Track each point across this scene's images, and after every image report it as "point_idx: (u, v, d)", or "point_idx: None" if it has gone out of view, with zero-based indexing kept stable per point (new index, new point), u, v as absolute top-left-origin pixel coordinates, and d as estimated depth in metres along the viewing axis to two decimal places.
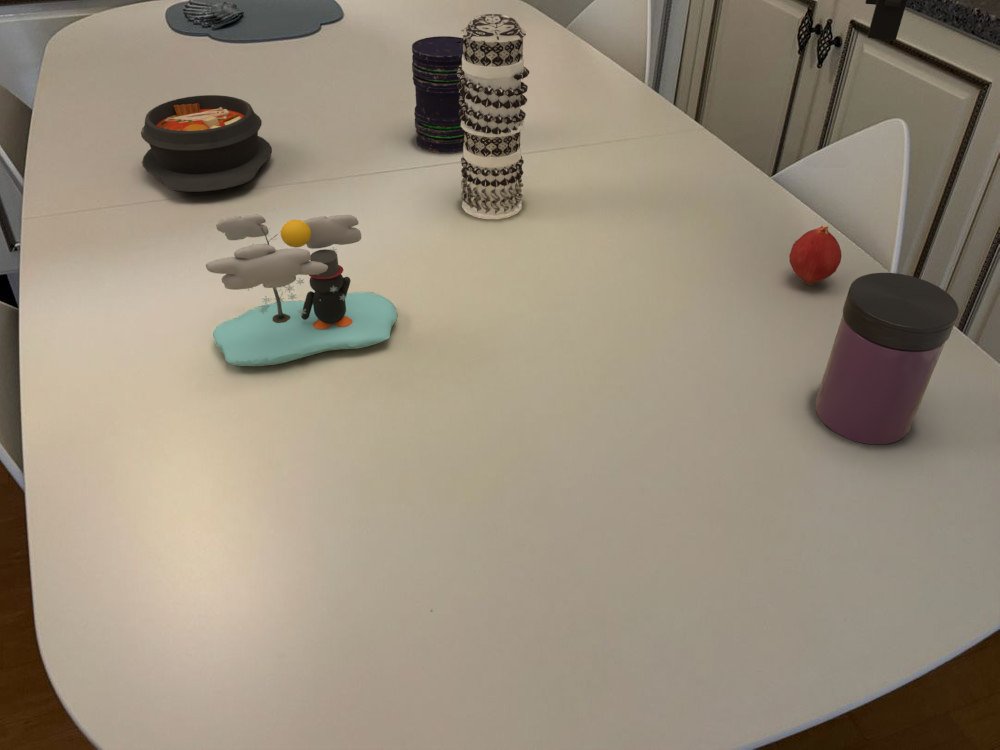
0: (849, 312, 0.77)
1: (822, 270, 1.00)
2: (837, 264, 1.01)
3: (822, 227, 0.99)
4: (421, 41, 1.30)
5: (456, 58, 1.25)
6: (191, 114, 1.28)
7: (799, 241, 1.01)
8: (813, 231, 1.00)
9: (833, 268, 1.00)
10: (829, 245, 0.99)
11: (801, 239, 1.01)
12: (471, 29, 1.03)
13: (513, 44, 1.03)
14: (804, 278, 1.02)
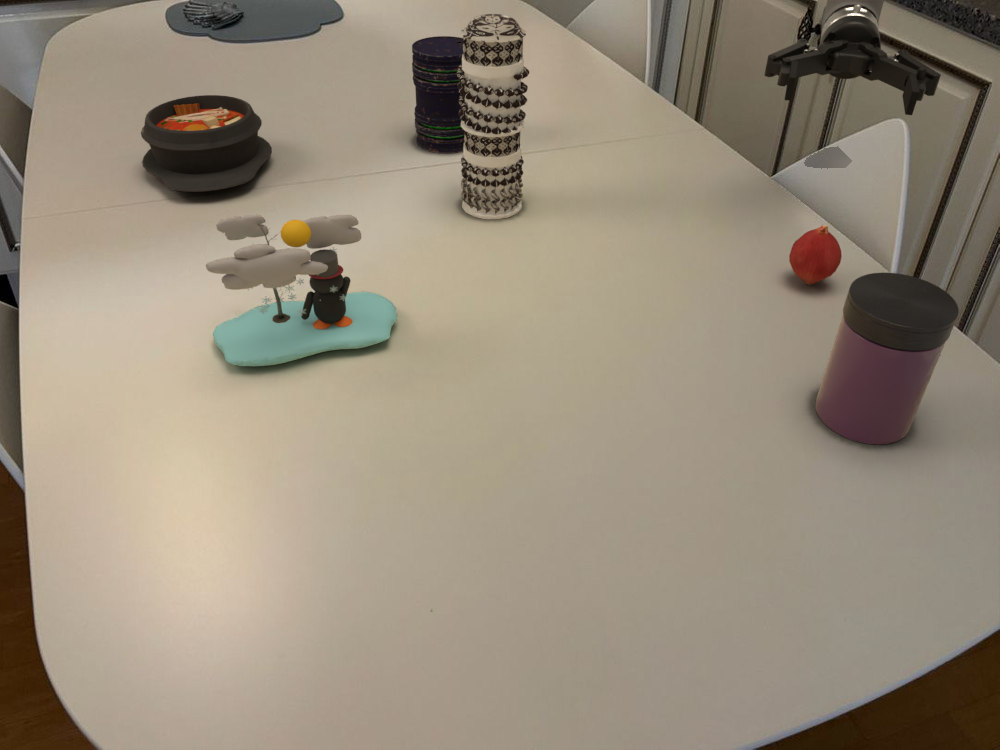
0: (849, 312, 0.77)
1: (822, 270, 1.00)
2: (837, 264, 1.01)
3: (822, 227, 0.99)
4: (421, 41, 1.30)
5: (456, 58, 1.25)
6: (191, 114, 1.28)
7: (799, 241, 1.01)
8: (813, 231, 1.00)
9: (833, 268, 1.00)
10: (829, 245, 0.99)
11: (801, 239, 1.01)
12: (471, 29, 1.03)
13: (513, 44, 1.03)
14: (804, 278, 1.02)
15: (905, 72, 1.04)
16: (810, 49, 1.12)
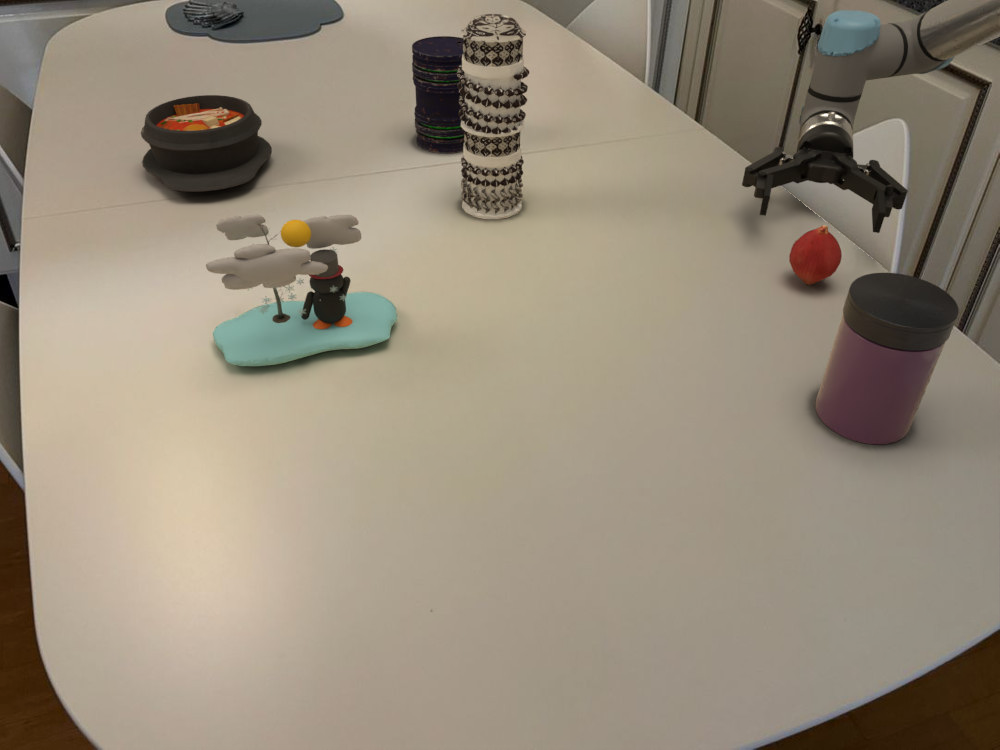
0: (849, 312, 0.77)
1: (822, 270, 1.00)
2: (837, 264, 1.01)
3: (822, 227, 0.99)
4: (421, 41, 1.30)
5: (456, 58, 1.25)
6: (191, 114, 1.28)
7: (799, 241, 1.01)
8: (813, 231, 1.00)
9: (833, 268, 1.00)
10: (829, 245, 0.99)
11: (801, 239, 1.01)
12: (471, 29, 1.03)
13: (513, 44, 1.03)
14: (804, 278, 1.02)
15: (874, 187, 1.10)
16: (786, 157, 1.18)
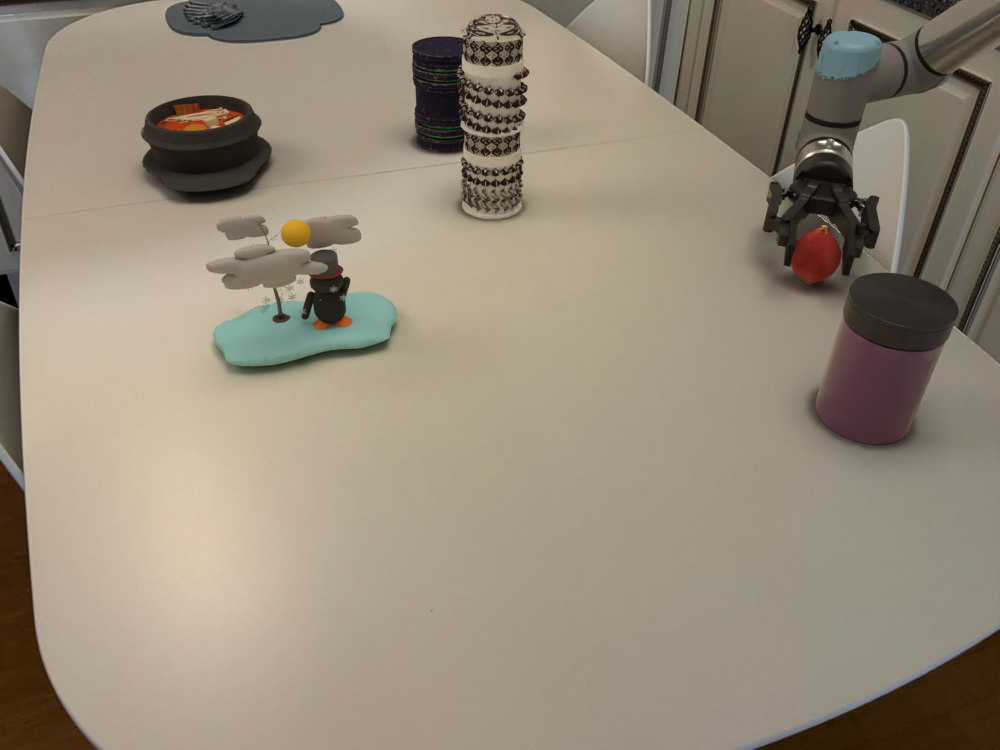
0: (849, 312, 0.77)
1: (822, 270, 1.00)
2: (837, 264, 1.01)
3: (822, 227, 0.99)
4: (421, 41, 1.30)
5: (456, 58, 1.25)
6: (191, 114, 1.28)
7: (799, 241, 1.01)
8: (813, 231, 1.00)
9: (833, 268, 1.00)
10: (829, 245, 0.99)
11: (801, 239, 1.01)
12: (471, 29, 1.03)
13: (513, 44, 1.03)
14: (804, 278, 1.02)
15: (849, 224, 1.02)
16: (784, 191, 1.10)
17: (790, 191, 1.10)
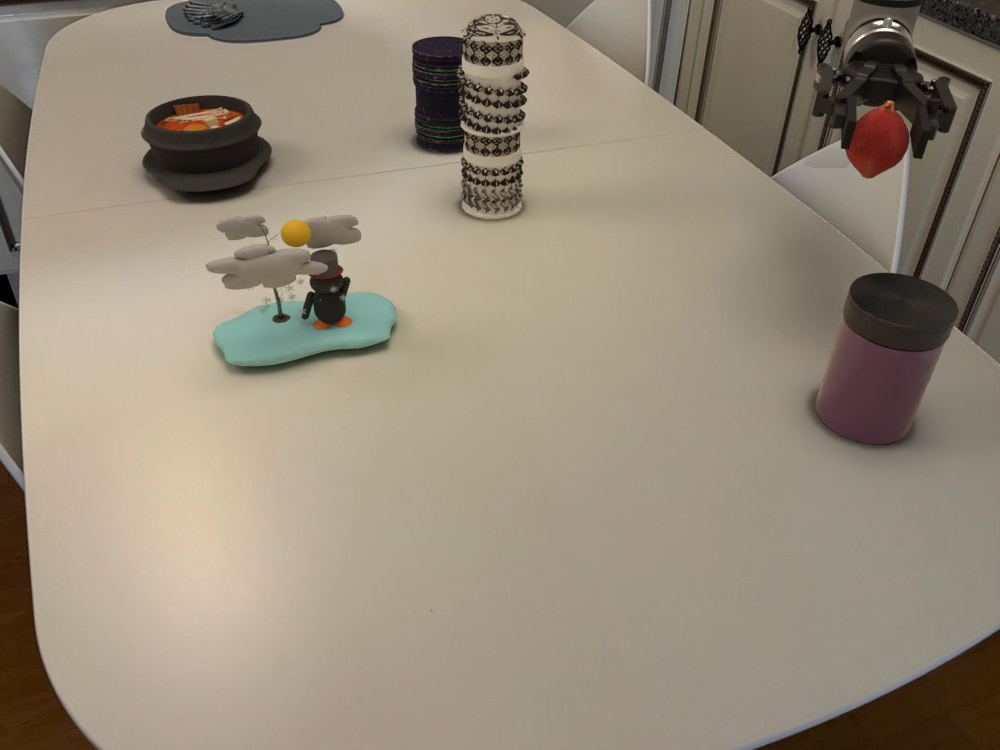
0: (849, 312, 0.77)
1: (886, 156, 0.82)
2: (905, 149, 0.83)
3: (887, 103, 0.82)
4: (421, 41, 1.30)
5: (456, 58, 1.25)
6: (191, 114, 1.28)
7: (858, 122, 0.84)
8: (875, 109, 0.83)
9: (900, 153, 0.83)
10: (896, 125, 0.82)
11: (861, 120, 0.83)
12: (471, 29, 1.03)
13: (513, 44, 1.03)
14: (864, 168, 0.84)
15: (918, 103, 0.84)
16: (836, 74, 0.92)
17: (842, 75, 0.93)
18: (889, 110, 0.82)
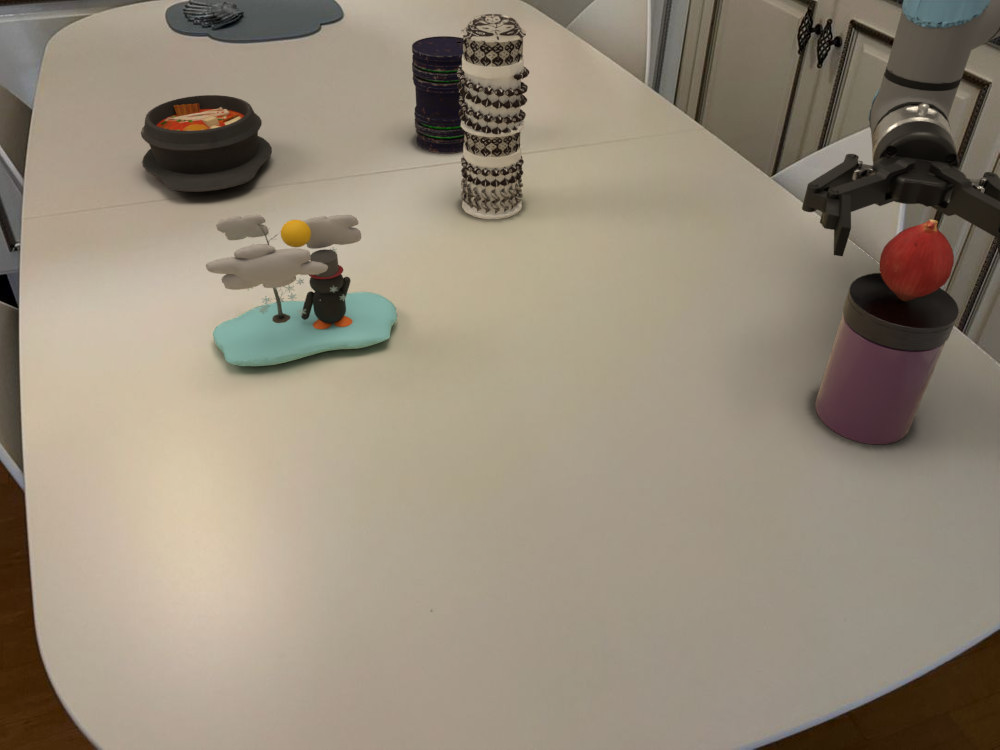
0: (849, 312, 0.77)
1: (928, 282, 0.72)
2: (949, 274, 0.73)
3: (930, 222, 0.71)
4: (421, 41, 1.30)
5: (456, 58, 1.25)
6: (191, 114, 1.28)
7: (895, 242, 0.73)
8: (916, 228, 0.73)
9: (943, 279, 0.72)
10: (939, 247, 0.72)
11: (898, 239, 0.73)
12: (471, 29, 1.03)
13: (513, 44, 1.03)
14: (901, 293, 0.74)
15: None
16: (863, 169, 0.82)
17: (874, 172, 0.82)
18: (932, 230, 0.72)
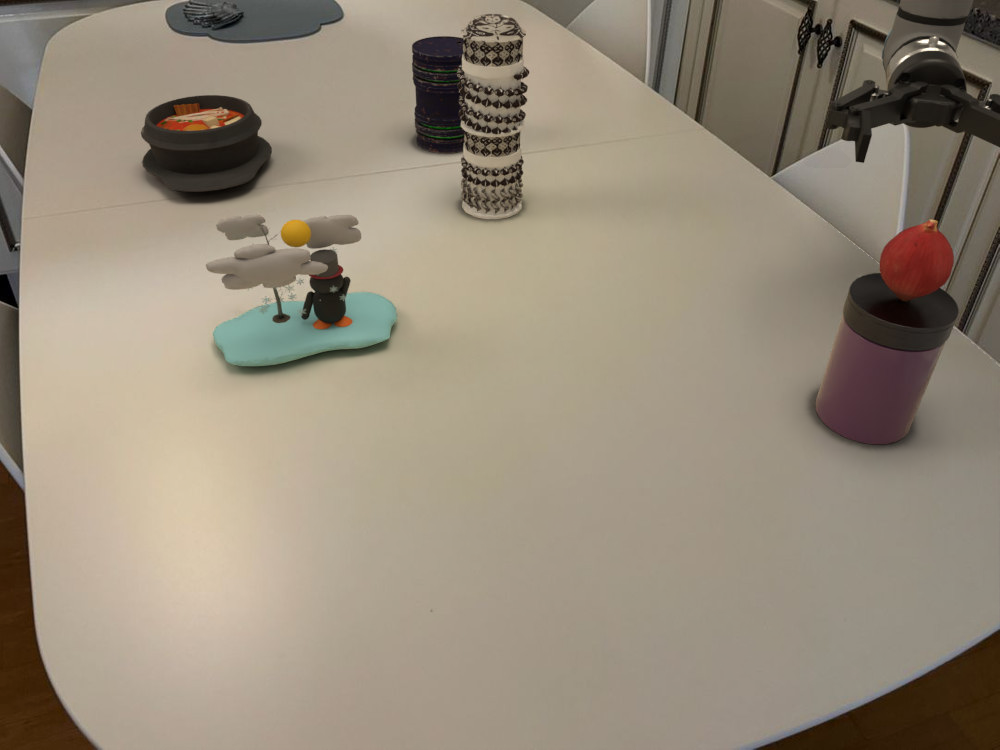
0: (849, 312, 0.77)
1: (928, 282, 0.72)
2: (949, 274, 0.73)
3: (930, 222, 0.71)
4: (421, 41, 1.30)
5: (456, 58, 1.25)
6: (191, 114, 1.28)
7: (895, 242, 0.73)
8: (916, 228, 0.73)
9: (943, 279, 0.72)
10: (939, 247, 0.72)
11: (898, 239, 0.73)
12: (471, 29, 1.03)
13: (513, 44, 1.03)
14: (901, 293, 0.74)
15: None
16: (879, 93, 0.90)
17: (890, 96, 0.90)
18: (932, 230, 0.72)
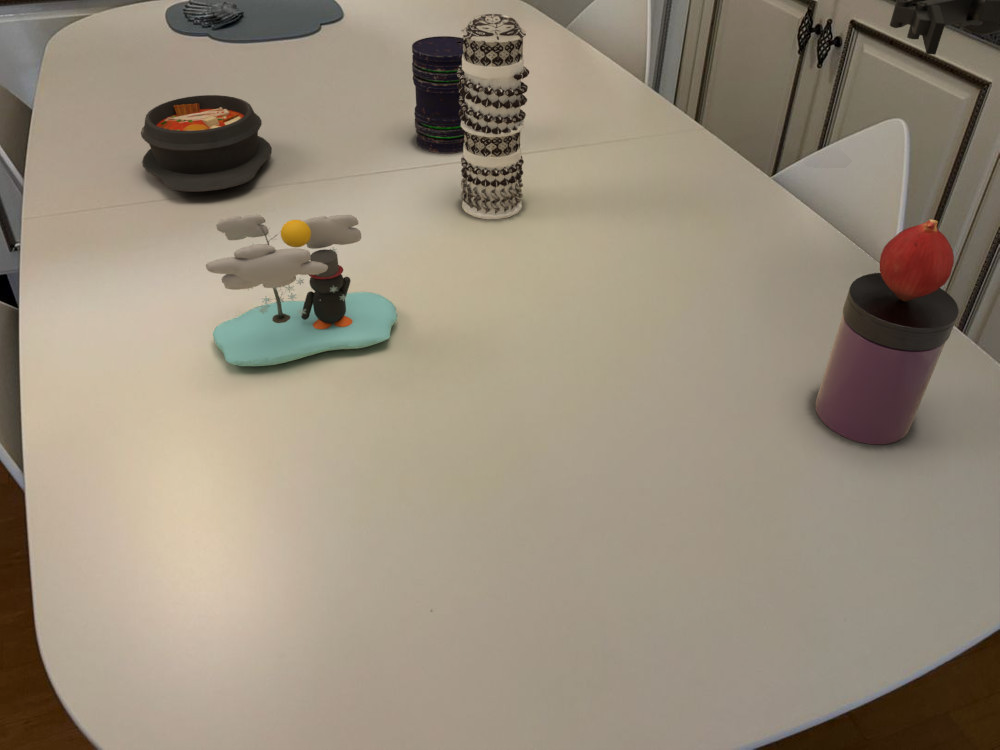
0: (849, 312, 0.77)
1: (928, 282, 0.72)
2: (949, 274, 0.73)
3: (930, 222, 0.71)
4: (421, 41, 1.30)
5: (456, 58, 1.25)
6: (191, 114, 1.28)
7: (895, 242, 0.73)
8: (916, 228, 0.73)
9: (943, 279, 0.72)
10: (939, 247, 0.72)
11: (898, 239, 0.73)
12: (471, 29, 1.03)
13: (513, 44, 1.03)
14: (901, 293, 0.74)
15: None
16: None
17: None
18: (932, 230, 0.72)
